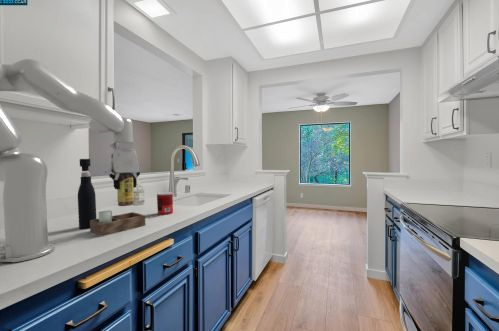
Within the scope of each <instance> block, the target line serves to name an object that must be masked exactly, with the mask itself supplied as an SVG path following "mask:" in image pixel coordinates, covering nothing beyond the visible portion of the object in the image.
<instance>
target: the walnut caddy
mask: <svg viewBox="0 0 499 331" xmlns="http://www.w3.org/2000/svg"><path fill="white" fill-rule="evenodd" d="M144 226H146V215H145V214H141V213H137V212H135V211H132V212H125V213H121V214H115V215H112V222H109V223H104V224H101V223H99V218H96V219H94V220H90V228H89V231H90V232H91V233H93V234H96V235H97V236H99V237H104V236H108V235H112V234H116V233H117V234H118V233H120V232H124V231H125V232H126V231H128V230H131V229H136V228H141V227H144Z"/></svg>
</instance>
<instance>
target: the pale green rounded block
mask: <svg viewBox="0 0 499 331" xmlns="http://www.w3.org/2000/svg"><path fill="white" fill-rule="evenodd" d="M112 216H113V211H112V210H103V211H99V212H98V219H99V223H101V224H104V223H109V222H112Z"/></svg>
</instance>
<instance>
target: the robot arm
mask: <svg viewBox="0 0 499 331" xmlns="http://www.w3.org/2000/svg"><path fill="white" fill-rule="evenodd" d="M31 91H33V92H35V93H36V94H37V95H39V96H41V97H42V98H44V99H46V100H47V101H48V102H50V103H51V104H53V105H54V106H56V107H58V108H59V109H61V110H64V111H67V112H70V113H76V114H81V115H83V116H87V117H88V118H91V119H90V121H89V124H88V127H89V129H90V130H91V131H92V132H93V133H95V134H97V135H102V136H103V135H112V139H113V140H112V141H113V143H110V144H109V148H113V150H112V151H111V155H110V166H108V167H107V168H106V169H105V170H104V173H105V174H106V175H107V176H108V177H109V178H110V179H112V180H113V188H114V190H117V189H120V184H119V180H118V177H119V175H120V173H131V174H132V176H133V188H137V185H138V184H137V179H138V178H139V176H140V175H141V173H142V172H143V171H144V169H143V168H142V167H141V166H140V165H139V159H138V154H137V151H136V149H134V135H133V134H134V133H133V132H134V131H133V121H132V120H131V119H130V118H127V117H122V116H121V115H120V114H119V113H117V111H115V110H114V109H112V107H110V106H109V105H108V104H106V103H104V102H103V101H100V100H99V99H96V98H95V97H92V96H90V95H88V94H85V93H83V92H80V91H79V90H77V89H76V88H75V87H73V86H72V85H70V84H69V83H68V82H67V81H65V80H64V79H63V78H62V77H60V76H59V75H58V74H56V73H54V71H52V70H50V69H49V67H47V66H45V65H44V64H43V63H41V62H40V61H37V60H34V59H30V58H25V59H20V60H18V61H16V62H14V63H11V64H7V63H5V64H4V63H1V61H0V92H17V93H18V92H31ZM22 141H23V138H22V133H21V132H20V130H19V129H18V128H17V126H16V124H14V122H13V121H12V119H11V117H9V115H8V113H7V112H6V111H5V109H4V108H3V107H2V104H1V103H0V182H3V189H2V204H3V205H2V206H3V218H4V219H3V220H4V237H5V241H4V242H3V243H2V245H1V246H0V263H2V262H12V263H18V262H24V261H28V260H33V259H36V258H40V257H43V256H45V255H48V254H50V253H52V252H53V251H54V250H55V248H56V245H55V244H53V243H49V235H48V234H49V232H48V213H47V197H46V196H47V195H46V193H47V190H46V189H47V187H46V186H47V180H48V179H47V178H48V165H47V164H46V161H44V159H43V158H41V157H40V156H38V155H37V154H34V153H31V152H21V150H20V149H19V146H20V145H21V144H22Z"/></svg>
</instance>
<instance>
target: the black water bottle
mask: <svg viewBox="0 0 499 331" xmlns="http://www.w3.org/2000/svg"><path fill="white" fill-rule="evenodd" d="M79 167H81V171H82V172H81V173H80V174H81V175H80V184H79V187H78V190H77V210H78V214H77V215H78V229H80V230H88V229H89V230H90V220H94V219H97V202H96V201H97V200H96V191H95V188H94V186H93V183H92V176H91V172H90V167H91V158H80V159H79Z"/></svg>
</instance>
